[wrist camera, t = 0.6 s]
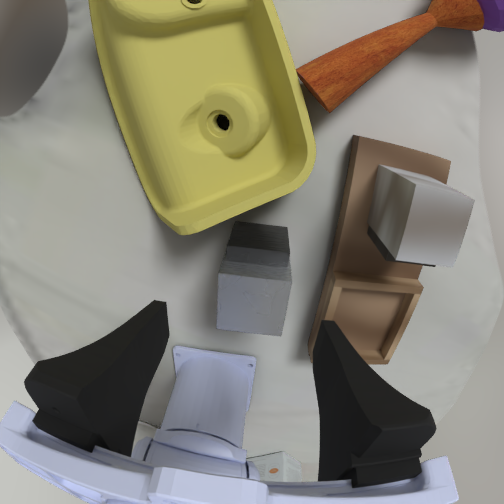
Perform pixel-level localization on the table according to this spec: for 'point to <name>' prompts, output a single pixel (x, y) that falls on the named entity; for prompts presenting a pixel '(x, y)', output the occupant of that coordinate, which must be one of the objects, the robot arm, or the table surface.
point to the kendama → (391, 47)
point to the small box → (278, 467)
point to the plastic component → (205, 104)
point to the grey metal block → (254, 280)
